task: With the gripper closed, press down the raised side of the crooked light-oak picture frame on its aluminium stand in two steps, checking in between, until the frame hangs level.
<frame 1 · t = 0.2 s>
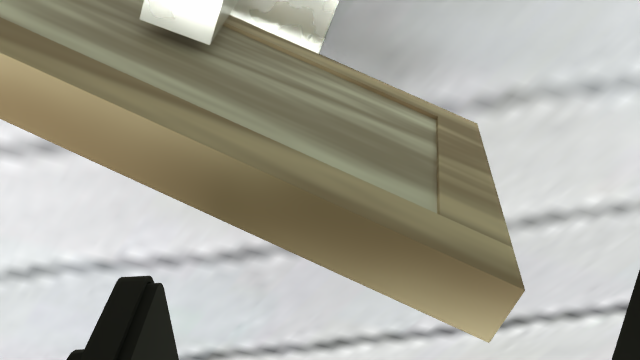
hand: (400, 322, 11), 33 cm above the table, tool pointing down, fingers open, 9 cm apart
frame stand: (219, 2, 39), on the table
picture frame: (169, 64, 24), point 17 cm above the table, hinge at 15.0°
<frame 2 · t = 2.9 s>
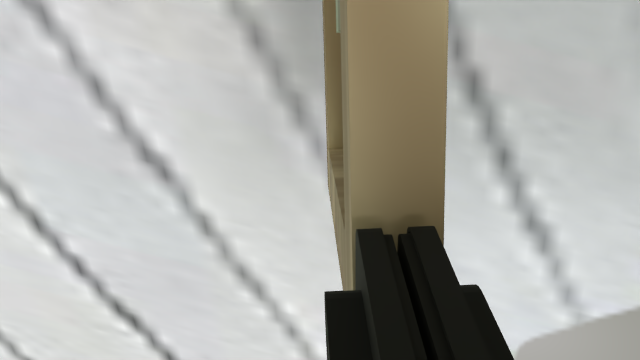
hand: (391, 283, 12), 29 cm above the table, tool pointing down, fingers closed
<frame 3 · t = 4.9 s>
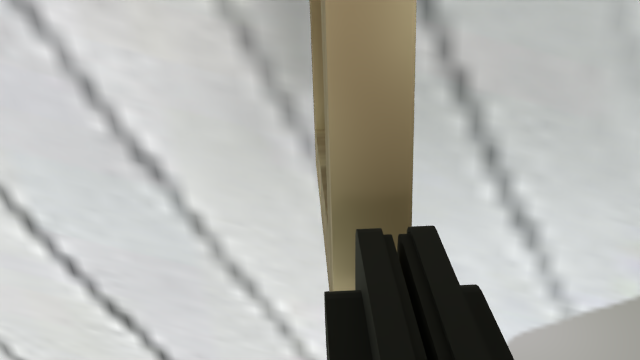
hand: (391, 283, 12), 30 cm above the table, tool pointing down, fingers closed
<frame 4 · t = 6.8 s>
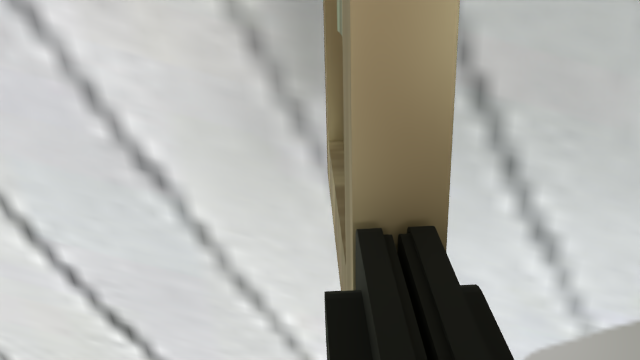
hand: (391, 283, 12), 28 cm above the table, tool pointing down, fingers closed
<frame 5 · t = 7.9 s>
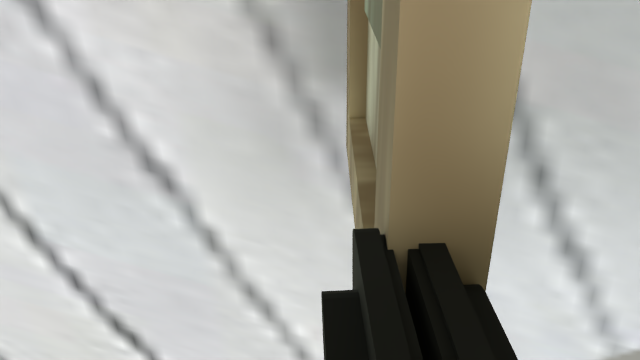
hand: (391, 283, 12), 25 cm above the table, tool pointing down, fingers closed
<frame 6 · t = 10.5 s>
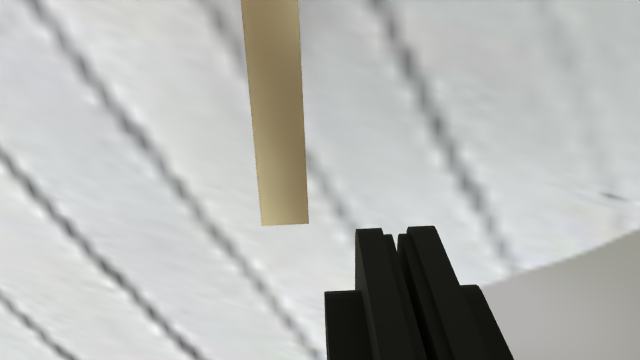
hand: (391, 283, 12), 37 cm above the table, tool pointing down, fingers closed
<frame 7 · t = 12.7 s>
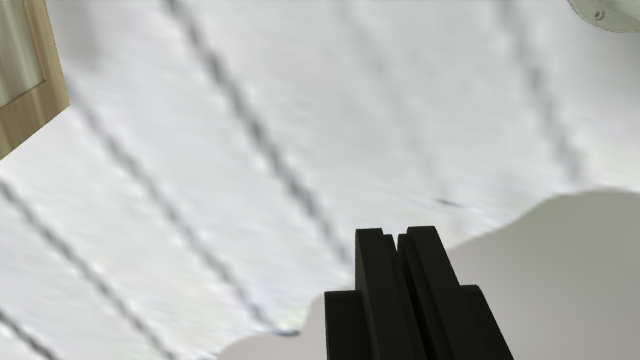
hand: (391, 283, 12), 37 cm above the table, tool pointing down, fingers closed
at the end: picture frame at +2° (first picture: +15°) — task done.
